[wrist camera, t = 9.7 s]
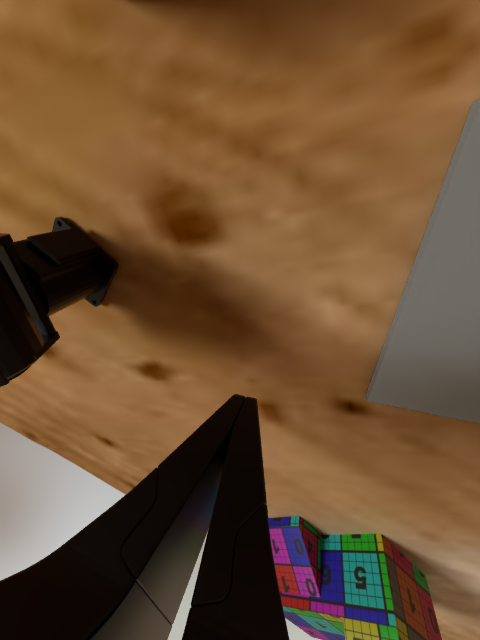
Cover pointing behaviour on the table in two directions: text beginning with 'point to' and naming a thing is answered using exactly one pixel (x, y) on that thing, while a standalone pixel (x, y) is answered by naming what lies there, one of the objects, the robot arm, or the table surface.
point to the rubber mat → (441, 302)
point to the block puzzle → (349, 585)
